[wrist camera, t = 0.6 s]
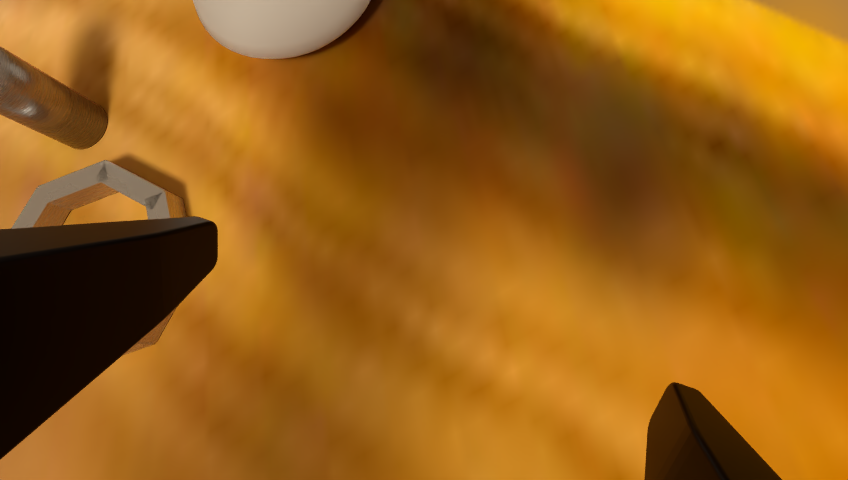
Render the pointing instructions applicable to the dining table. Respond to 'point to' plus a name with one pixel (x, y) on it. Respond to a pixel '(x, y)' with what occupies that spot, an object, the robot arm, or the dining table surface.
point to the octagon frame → (78, 128)
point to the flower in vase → (277, 24)
